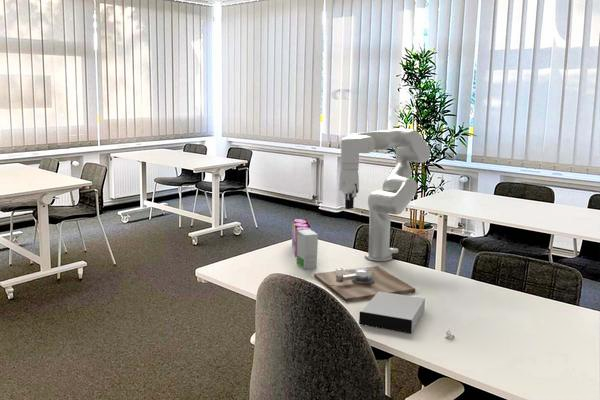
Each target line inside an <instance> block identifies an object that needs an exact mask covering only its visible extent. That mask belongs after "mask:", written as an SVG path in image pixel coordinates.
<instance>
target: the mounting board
mask: <svg viewBox="0 0 600 400" xmlns="http://www.w3.org/2000/svg"><path fill="white" fill-rule="evenodd" d="M365 268H367V269H370V270H372V279H371V280H368V281H360V280H356V279H352V280H346V281H343V282H341V283H339V282H336V270H334V271H326V272H317V273H314V274H313V277H314V279H316V281H318V282H319V283H320V284H322V285H324V286H325V288H327V289H328V290H329V291H331V292H332V293H333V294H334V295H336V297H338V298H340V300H341V301H343V302H345V303H350V302H358V301H363V300H372V298H373V297H374V296H375V295H376V294H377V293H378V291H380V292H386V293H393V294H400V295H408V294H414V293H416V288H415V287H413V286H412V285H410V284H408V283H407V282H404V281H403V280H401V279H399V278H398V277H396V276H395V275H393V274H391V273H390V272H388V271H386V270H385V269H383V268H382V267H380V266H379V265H377V266H376V265H375V266H367V267H365ZM355 269H356V268H351V269H348V268H347V269H343V276H344V275H350V274H354V272H355Z"/></svg>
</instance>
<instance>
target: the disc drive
mask: <svg viewBox="0 0 600 400" xmlns="http://www.w3.org/2000/svg"><path fill="white" fill-rule="evenodd" d="M425 304H426V298H425V297H419V296H412V295H407V294H401V295H400V294H393V293H386V292H380V291H378V293H377V294H376V295H375V296H374V297H373V298H372V299H370V300H369V301H368V302H367V304H366V305H365V307H364V308H362V310H361V311H359V314H358V315H359V316H358V317H359V318H358V319H359V322H358V324H361V326H365V325H367V326H366V327H371V328H376V327H377V328H378V329H382V330H383V329H384V330H387V329H388V331H393V330H394V332H399V333H405V334H411V335H412V331H413V330H414V328H415V326H416V325H417V323H418V322H419V320H420V318H421V316H422V315H423V313H424V311H425Z"/></svg>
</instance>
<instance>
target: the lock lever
mask: <svg viewBox="0 0 600 400" xmlns="http://www.w3.org/2000/svg"><path fill="white" fill-rule="evenodd" d="M335 269H336V270H335V271H336V282H339V283H341V282H343V281H346V280H352V279H356V280H360V281H368V280H371V279H372V270H370V269H367V268H366V267H358V268H354V269H355V272H354V274H350V275H344V276H343V270H344V268H342V267H338V268H335Z"/></svg>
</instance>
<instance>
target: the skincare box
mask: <svg viewBox="0 0 600 400" xmlns="http://www.w3.org/2000/svg"><path fill="white" fill-rule="evenodd" d="M318 239H319V234H318V233H316V232H315V231H314V230H313V229H312V230H310V229H309V230H300V231H298V239H297V258H296V265H298V266H299V267H300V268H301V269H303V270H308V269H315V268H317V262H318Z"/></svg>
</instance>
